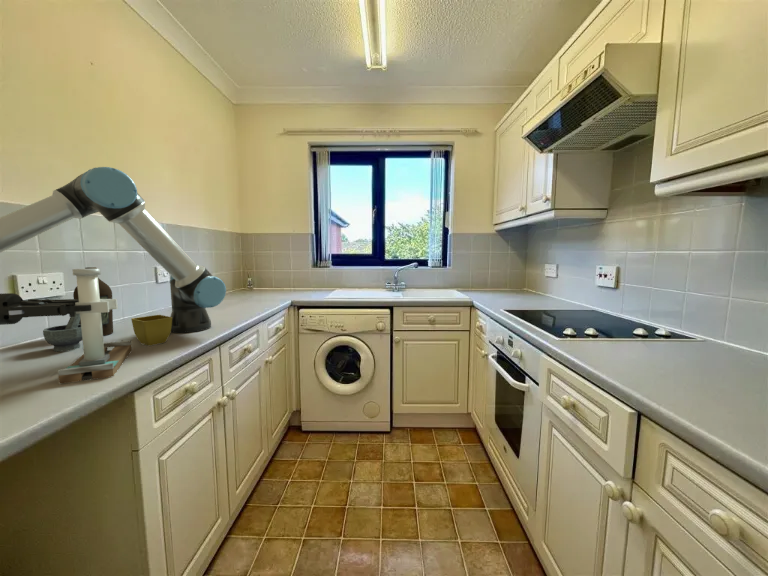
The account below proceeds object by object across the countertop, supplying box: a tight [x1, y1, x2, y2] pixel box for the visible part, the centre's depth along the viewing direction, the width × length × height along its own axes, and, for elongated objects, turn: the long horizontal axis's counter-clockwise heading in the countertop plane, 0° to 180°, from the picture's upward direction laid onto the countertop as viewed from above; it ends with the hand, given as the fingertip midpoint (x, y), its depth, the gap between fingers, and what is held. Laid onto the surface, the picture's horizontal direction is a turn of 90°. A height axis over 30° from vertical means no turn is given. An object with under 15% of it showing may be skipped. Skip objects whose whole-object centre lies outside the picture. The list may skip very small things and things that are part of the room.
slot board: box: [57, 340, 133, 385], centre depth 89 cm, size 10×24×3 cm, turn 29°
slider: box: [72, 268, 110, 366], centre depth 83 cm, size 5×5×24 cm
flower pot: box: [130, 314, 172, 347], centre depth 109 cm, size 9×9×9 cm
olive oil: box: [72, 266, 114, 337], centre depth 118 cm, size 11×11×25 cm
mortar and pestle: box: [42, 312, 83, 352], centre depth 103 cm, size 11×9×12 cm
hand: (112, 305), depth 84 cm, fingers closed on slider, 4 cm apart
